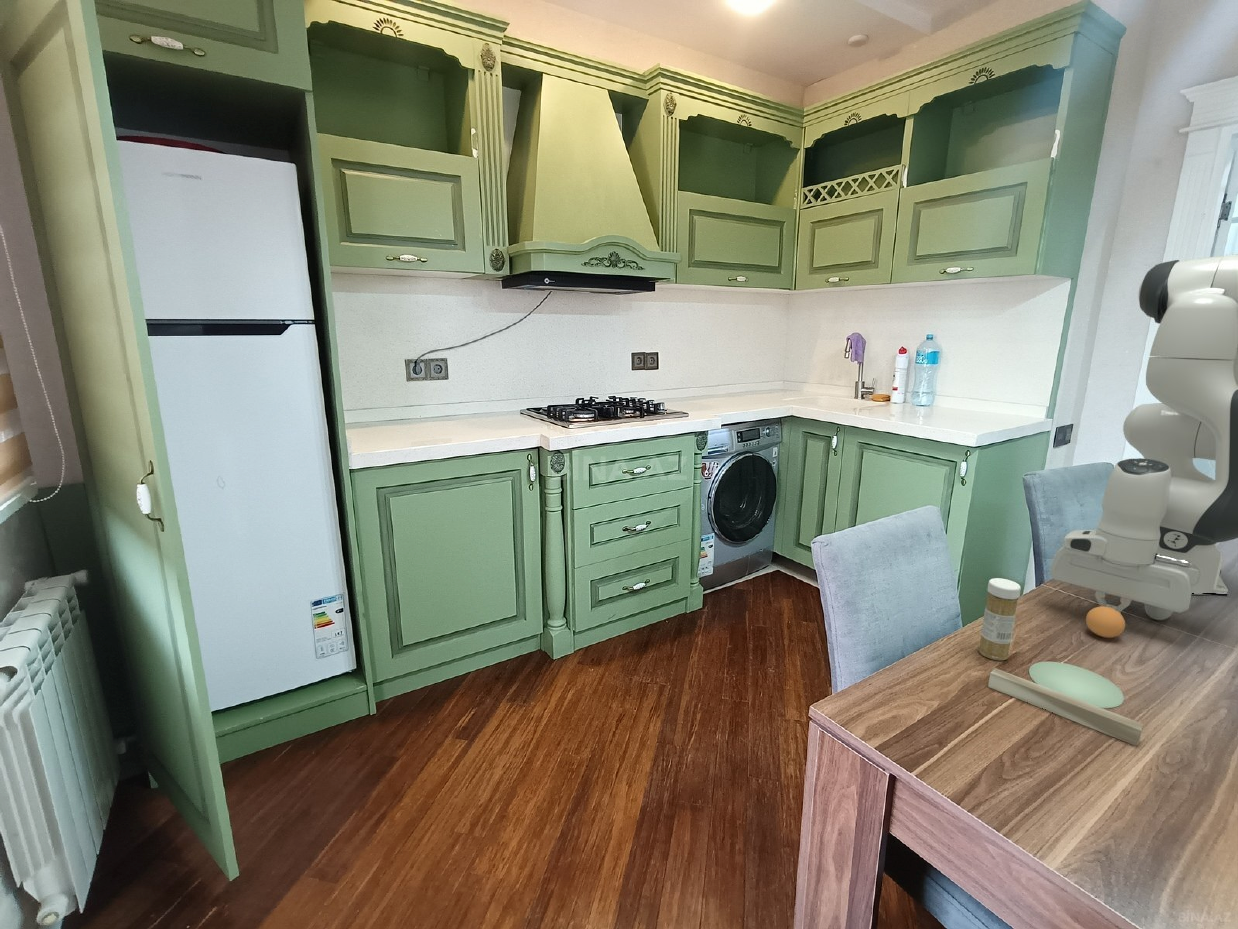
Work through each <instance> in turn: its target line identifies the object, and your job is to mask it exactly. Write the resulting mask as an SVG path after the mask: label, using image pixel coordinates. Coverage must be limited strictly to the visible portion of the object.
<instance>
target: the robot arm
mask: <svg viewBox="0 0 1238 929" xmlns="http://www.w3.org/2000/svg"><path fill="white" fill-rule="evenodd" d="M1138 301H1139V308H1140V310H1141V311H1142V312H1143V313H1144V314H1145V315H1146V316H1147V317H1150V318H1152V319H1154V322H1155V323H1156V324H1158V328H1157V330H1156V333H1155V336H1154V339H1153V342H1152V345H1151V348H1150V352H1149V356H1148V360H1147V365H1146V371H1145V372H1146V373H1145V385H1146V388H1147V390H1148V391H1149V393H1150V394H1151V395H1152V396H1153V397H1154V398H1155V399H1156V400H1158V401H1159V402H1158V403H1157V402H1156V403H1143V404H1139V405H1138V406H1136V407H1135V408H1133V409H1132V410H1131V411H1130V412H1129V413H1128V415H1127V416H1126V418H1125V419H1124V421H1123V425H1122V426H1123V428H1122V429H1123V430H1122V432H1123V435H1124V439H1125V440H1126V441H1127V442H1128V444H1129V445H1130V446H1131V447H1132V448H1134V449H1135V450H1136V451H1137V452H1139V454H1140V455H1141V456H1142V457H1143V458H1141V457H1140V458H1127V459H1126V458H1125V459H1122V460H1120V461H1118V462H1117V463H1115V465H1114V467H1113V469H1112V471H1111V473H1110V475H1109V478H1108V481H1107V484H1106V487H1105V490H1104V493H1103V496H1102V497H1103V498H1102V502H1101V507H1102V516H1101V518H1100V520H1099V521H1098V524H1097V527H1096V529H1076V530H1075V529H1074V530H1072V531H1070V532H1069V533H1067V534H1066V535H1065V537H1064V538H1063V542H1062V543H1063V545H1062V546H1061V547H1060V548H1059V549H1058V550H1056V552H1055V554H1054V556H1053V558H1052V561H1051V565H1050V569H1049V572H1048V573H1049V575H1050V577H1051V578H1052V579H1053V580H1055V581H1059V582H1063V583H1067V584H1070V585H1074V586H1077V587H1082V588H1085V589H1089V590H1093V591H1095V594H1094V596H1095V599H1096V601H1097V602H1098V604H1099V607H1101V606H1104V607H1110V608H1112V609H1115V610H1116V611H1118V612H1119V613H1120V614H1121V612H1122V611H1123V610H1125V609H1126V608H1127V607H1129V606H1130V605H1131V603H1132V601H1135V602H1139V603H1143V604H1144V605H1145V604H1149V605H1152V606H1156V607H1160V608H1164V609H1167V610H1171V611H1174V612H1176V613H1184V612H1186V611H1188V610H1189V608H1190V604H1191V600H1192V599H1191V598H1192V595H1202V594H1201V593H1206V592H1208V593H1209V592H1222V593H1224V592H1228V593H1229V589H1228V587H1227V586H1226V584H1225V582H1224V581H1223V579H1222V577H1221V576H1220V575H1221V573H1222V569H1221V567H1222V563H1223V560H1224V555H1223V554H1222V553H1221V551H1219V549H1218V548H1217V546H1216V544H1218V543H1223V542H1225V543H1226V542H1229V541H1233V540H1236V539H1238V253H1237V254H1233V253H1232V254H1225V255H1220V256H1210V257H1200V258H1199V257H1198V258H1193V259H1187V260H1179V259H1176V260H1169V261H1165V262H1161V263H1157V264H1155V265H1154V266H1153V267H1152V268H1150V269H1149V270H1148V271H1147V272H1146V274H1145V276H1144V278H1143V279H1142V282H1141V283H1140V286H1139V288H1138ZM1194 459H1199V460H1210V461H1215V468H1214V469H1215V472H1214V473H1215V475H1214V479H1213V478H1211V477H1210V476H1208V475H1207V474H1205V473H1202V472H1201V471H1200V470H1198V469H1197V467H1196V465H1195V464H1194ZM1192 593H1194V594H1192ZM1107 594H1109V595H1111V596H1116V597H1119V598H1120V600H1119V601H1120V602H1119V603H1120V604H1119V605H1113V604H1108V603H1107V601H1106V598H1105V597H1106V595H1107ZM1121 615H1122V614H1121Z"/></svg>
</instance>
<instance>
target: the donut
mask: <svg viewBox="0 0 1238 929" xmlns="http://www.w3.org/2000/svg"><path fill="white" fill-rule="evenodd" d="M1144 610H1145V613H1146V614H1147V615H1148V616H1149V617H1150V618H1151V619H1153V620H1156V621H1164V620H1167V619H1168V618H1170V617H1171V616H1172V614H1173V613H1174V612H1175V611H1171V610H1167V609H1164V608H1160V607H1156V606H1152V605H1149V604H1145V603H1144Z"/></svg>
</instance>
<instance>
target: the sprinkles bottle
mask: <svg viewBox="0 0 1238 929" xmlns="http://www.w3.org/2000/svg"><path fill="white" fill-rule="evenodd" d="M1021 589H1022V586H1021V585H1020V584H1019V583H1017V582H1015V581H1014V580H1009V579H1006V578H1002V577H1001V578H998V577H996V578H994V577H993V578H991V579H989V581H988V584H987V598H986V603H985V604H986V605H985V608H984V615H983V619H982V626H981V634H980V635H981V636H980V642H979V645H978V649H977V650H978V652H979V653H980V654H981V655H982V656H984V657H986V658H987V659H989V660H994V661H999V662H1000V661H1005V660H1008V659H1009V657H1010V656H1009V650H1010V646H1011V642H1012V638H1013V631H1014V627H1015V621H1016V612H1017V606H1018V600H1019V598H1020V595H1021Z"/></svg>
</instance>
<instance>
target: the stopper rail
mask: <svg viewBox="0 0 1238 929" xmlns="http://www.w3.org/2000/svg"><path fill="white" fill-rule="evenodd" d="M987 688H990V689H993V690H995V691H997V692H1000V693H1002V694H1005V695H1007V696H1010V697H1013V698H1015V699H1018V700H1019V701H1023V702H1025V703H1027V702H1028V704H1030V705H1032V706H1035V707H1037V708H1040V709H1042V708H1043V709H1042V710H1045V709H1046V710H1045V711H1047V712H1050V713H1052V712H1053V713H1052V714H1055V715H1057V716H1060V717H1062V718H1064V719H1067V720H1070V721H1073V722H1075V723H1077V724H1080V725H1082V726H1084V727H1087V728H1089V729H1092V730H1095V731H1098V732H1100V733H1102V734H1105V735H1107V736H1110V737H1112V738H1114V739H1117V740H1120V741H1122V742H1125V743H1127V744H1129V745H1132V746H1134V747H1138V746H1139V743H1140V739H1141V736H1142V732H1143V728H1144V723H1142V722H1139V721H1136V720H1134V719H1131V718H1128V717H1126V716H1123V715H1120V714H1118V713H1115V712H1113V711H1110V710H1109V709H1108V710H1107V709H1106V708H1100V707H1097V706H1094V705H1092V704H1089V703H1086V702H1084V701H1081V700H1078V699H1076V698H1073V697H1070V696H1068V695H1065V694H1063V693H1060V692H1057V691H1055V690H1052V689H1049V688H1047V687H1044V686H1041V685H1039V684H1036V683H1035V682H1034V681H1031V680H1028V679H1025V678H1024V677H1019V676H1017V675H1014V674H1012V673H1009V672H1007V671H1004V670H1002V669H999V668H996V667H995V668H993V669H992V671H990V673H989V680H988V684H987Z"/></svg>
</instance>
